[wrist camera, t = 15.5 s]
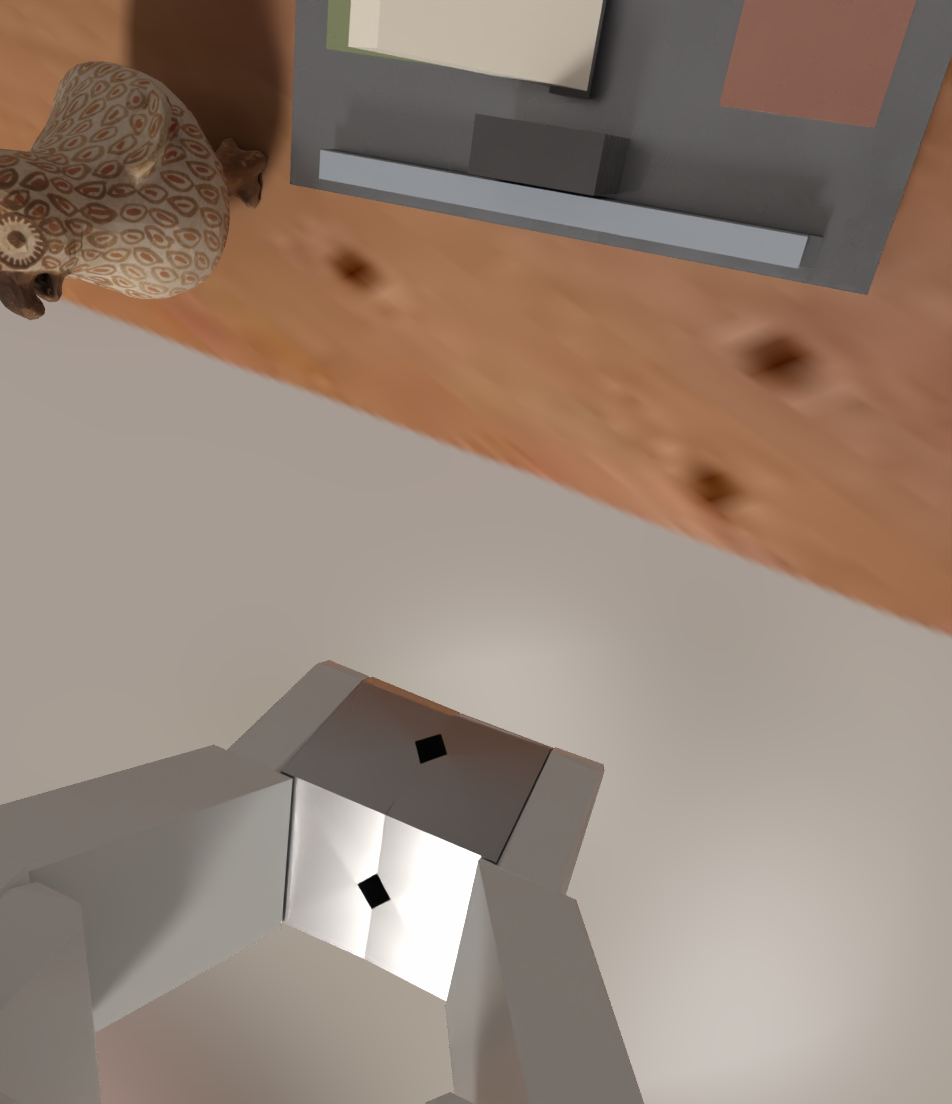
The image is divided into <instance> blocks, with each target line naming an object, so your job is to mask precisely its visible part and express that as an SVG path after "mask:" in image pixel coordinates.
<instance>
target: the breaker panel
mask: <svg viewBox="0 0 952 1104" xmlns="http://www.w3.org/2000/svg"><path fill="white" fill-rule="evenodd" d="M350 9H351V0H296V20H295V50H294V81H293V111H292V142H291V172H290V184H293V185H298V186H303V187H308V188H313V189H319V190H324V191H329V192H334V193H339V194H345V195H350V196H355V197H360V198H365V199H371V200H376V201H381V202H386V203H391V204H397V205H402V206H407V207H412V208H417V209H423V210H428V211H433V212H438V213H443V214H449V215H454V216H459V217H464V218H469V219H475V220H480V221H485V222H490V223H495V224H501V225H506V226H511V227H516V228H521V229H527V230H532V231H537V232H542V233H547V234H553V235H558V236H563V237H568V238H573V239H579V240H584V241H589V242H594V243H599V244H605V245H610V246H615V247H620V248H625V249H631V250H636V251H641V252H646V253H652V254H657V255H662V256H667V257H672V258H678V259H683V260H688V261H693V262H698V263H704V264H709V265H714V266H719V267H724V268H730V269H735V270H740V271H745V272H750V273H756V274H761V275H766V276H771V277H776V278H782V279H787V280H792V281H797V282H802V283H808V284H813V285H818V286H823V287H828V288H834V289H839V290H844V291H849V292H854V293H860V294H865V295H867V294H868V292H869V289H870V286H871V283H872V280H873V277H874V275H875V272H876V269H877V266H878V263H879V260H880V258H881V255H882V252H883V249H884V246H885V243H886V240H887V238H888V235H889V232H890V229H891V226H892V223H893V221H894V218H895V215H896V212H897V209H898V206H899V204H900V201H901V198H902V195H903V192H904V189H905V187H906V184H907V181H908V178H909V175H910V172H911V170H912V167H913V164H914V161H915V158H916V155H917V152H918V150H919V147H920V144H921V141H922V138H923V135H924V133H925V130H926V127H927V124H928V121H929V118H930V116H931V113H932V110H933V107H934V104H935V101H936V99H937V96H938V93H939V90H940V87H941V84H942V82H943V79H944V76H945V73H946V70H947V67H948V64H949V62H950V59H951V56H952V0H606V5H605V11H604V16H603V22H602V28H601V33H600V39H599V44H598V50H597V55H596V61H595V66H594V72H593V78H592V83H591V89H590V94H589V99H582V98H574V97H568V96H562V95H556V94H551V93H549V87H548V86H543V85H538V84H533V83H528V82H523V81H518V80H513V79H508V78H503V77H498V76H493V75H488V74H483V73H478V72H473V71H468V70H463V69H458V68H453V67H448V66H443V65H438V64H433V63H428V62H423V61H418V60H413V59H408V58H403V57H398V56H393V55H388V54H383V53H378V52H373V51H368V50H363V49H358V48H353V47H348V43H349V26H350ZM322 149H336V150H342V151H348V152H353V153H359V154H365V155H370V156H376V157H382V158H387V159H393V160H398V161H404V162H410V163H415V164H421V165H427V166H432V167H438V168H444V169H449V170H455V171H461V172H466V173H468V174H474V175H479V176H485V177H490V178H496V179H502V180H507V181H513V182H519V183H524V184H530V185H535V186H541V187H547V188H552V189H558V190H564V191H569V192H575V193H581V194H586V195H592V196H602V197H607V198H613V199H618V200H624V201H630V202H635V203H641V204H647V205H652V206H658V207H664V208H669V209H675V210H681V211H686V212H692V213H697V214H703V215H709V216H714V217H720V218H726V219H731V220H737V221H743V222H748V223H754V224H760V225H765V226H771V227H776V228H782V229H788V230H793V231H799V232H805V233H810V234H816V235H822V236H823V241H822V244H821V247H820V250H819V253H818V257H817V260H816V263H815V266H814V269H812V268H807V267H802V266H799V268H798V269H797V268H791V267H786V266H781V265H775V264H770V263H765V262H759V261H754V260H749V259H744V258H738V257H733V256H728V255H722V254H717V253H712V252H706V251H701V250H696V249H690V248H685V247H680V246H675V245H669V244H664V243H659V242H653V241H648V240H643V239H637V238H632V237H627V236H621V235H616V234H611V233H606V232H600V231H595V230H590V229H584V228H579V227H574V226H568V225H563V224H558V223H552V222H547V221H542V220H537V219H531V218H526V217H521V216H515V215H510V214H505V213H499V212H494V211H489V210H483V209H478V208H473V207H468V206H462V205H457V204H452V203H446V202H441V201H436V200H430V199H425V198H420V197H414V196H409V195H404V194H399V193H393V192H388V191H383V190H377V189H372V188H367V187H361V186H356V185H351V184H345V183H340V182H335V181H330V180H324V179H319V168H320V150H322Z"/></svg>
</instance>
